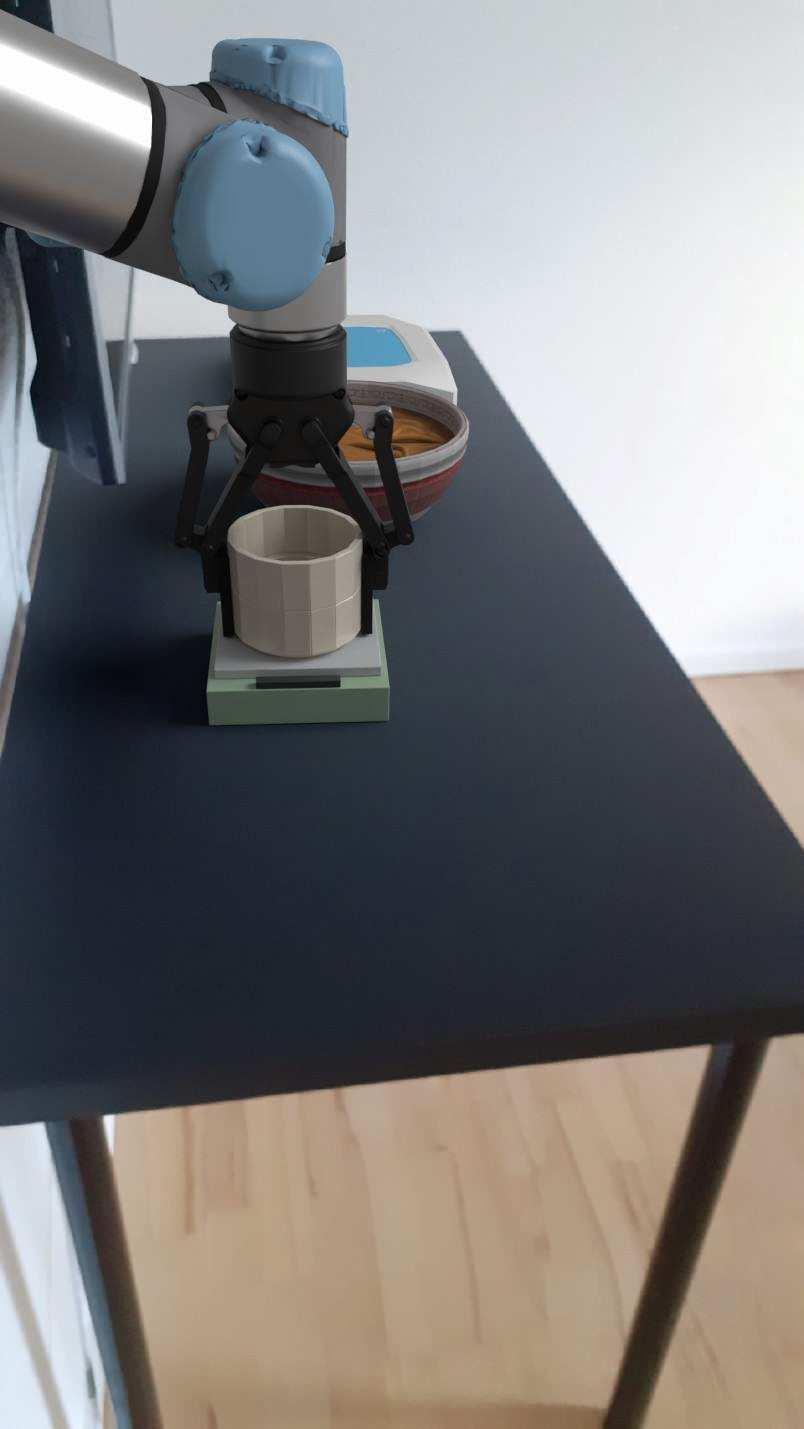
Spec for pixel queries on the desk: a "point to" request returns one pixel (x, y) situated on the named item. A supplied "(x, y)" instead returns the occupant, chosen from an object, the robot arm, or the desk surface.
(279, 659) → the scale
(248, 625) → the faceted beige cup
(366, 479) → the bowl
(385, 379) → the document scanner
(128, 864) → the desk surface
